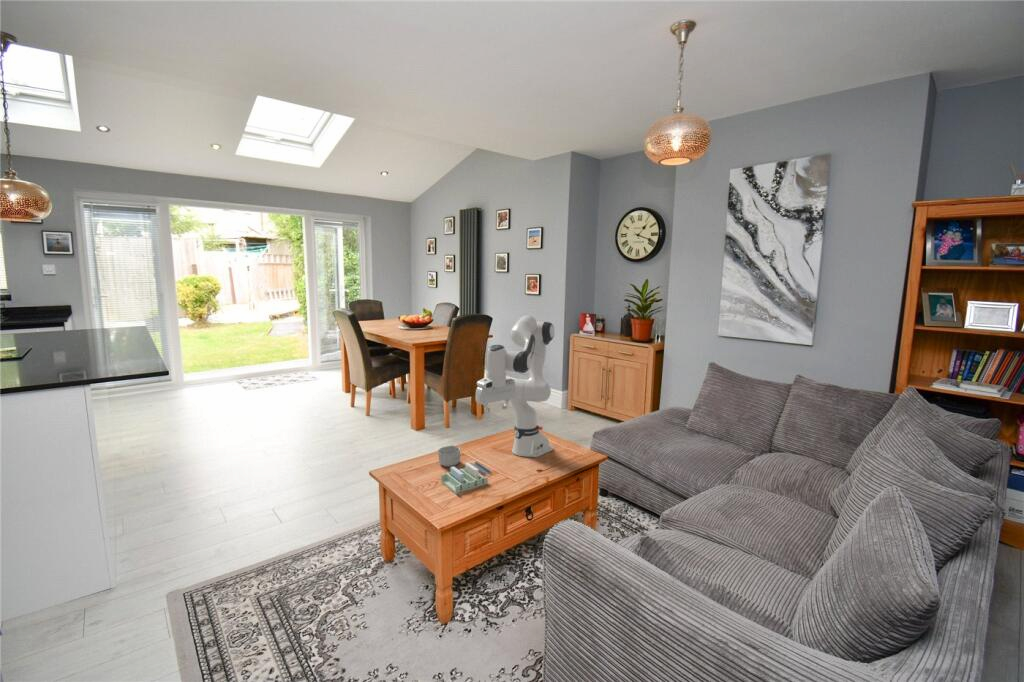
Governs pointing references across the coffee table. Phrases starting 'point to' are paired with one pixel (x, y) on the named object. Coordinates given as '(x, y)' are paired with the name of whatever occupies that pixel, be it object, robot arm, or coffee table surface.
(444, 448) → the teacup
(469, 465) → the plate
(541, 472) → the coffee table surface
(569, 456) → the coffee table surface
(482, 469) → the stand
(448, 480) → the rack
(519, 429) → the robot arm
